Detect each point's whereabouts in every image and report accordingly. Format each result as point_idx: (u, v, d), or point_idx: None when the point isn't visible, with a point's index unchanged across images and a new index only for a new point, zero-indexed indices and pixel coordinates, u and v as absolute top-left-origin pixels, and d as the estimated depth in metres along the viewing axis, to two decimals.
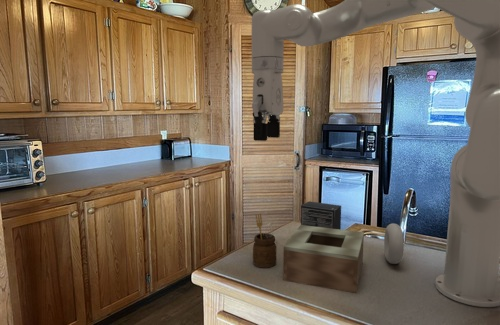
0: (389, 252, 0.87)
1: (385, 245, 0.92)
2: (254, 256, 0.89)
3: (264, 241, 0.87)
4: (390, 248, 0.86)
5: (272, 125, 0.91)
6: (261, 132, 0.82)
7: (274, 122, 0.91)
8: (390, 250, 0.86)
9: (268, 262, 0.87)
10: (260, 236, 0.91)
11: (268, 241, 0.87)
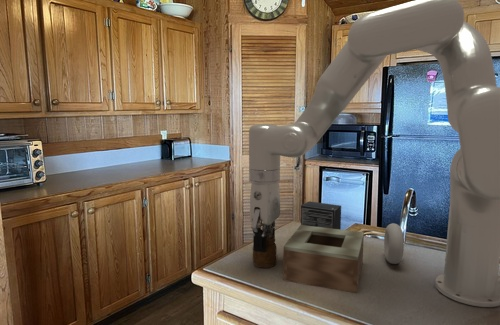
0: (389, 252, 0.87)
1: (385, 245, 0.92)
2: (254, 256, 0.89)
3: None
4: (390, 248, 0.86)
5: (267, 231, 0.92)
6: (261, 245, 0.85)
7: (269, 228, 0.92)
8: (390, 250, 0.86)
9: (268, 262, 0.87)
10: None
11: (268, 241, 0.87)
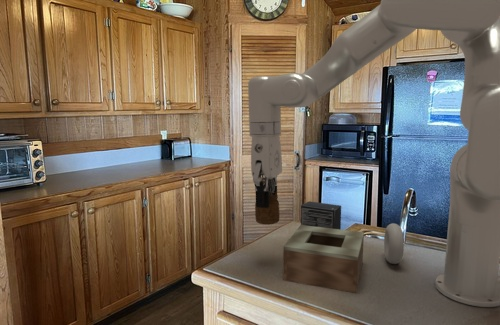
0: (389, 252, 0.87)
1: (385, 245, 0.92)
2: (256, 213, 0.87)
3: None
4: (390, 248, 0.86)
5: (269, 189, 0.90)
6: (263, 200, 0.84)
7: (271, 186, 0.90)
8: (390, 250, 0.86)
9: (271, 218, 0.85)
10: None
11: (270, 197, 0.85)
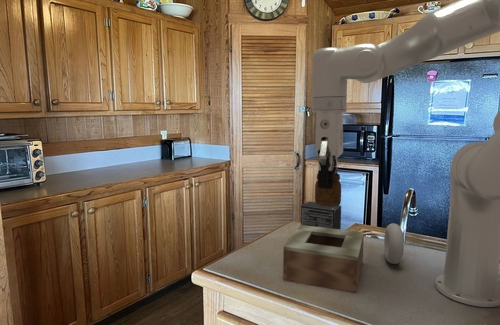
0: (389, 252, 0.87)
1: (385, 245, 0.92)
2: (317, 195, 0.81)
3: None
4: (390, 248, 0.86)
5: None
6: (327, 180, 0.78)
7: (331, 167, 0.85)
8: (390, 250, 0.86)
9: (334, 200, 0.80)
10: None
11: (334, 177, 0.80)
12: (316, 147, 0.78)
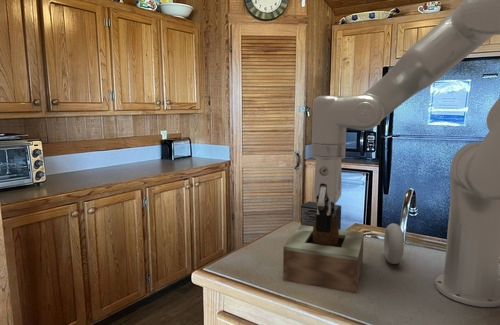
0: (389, 252, 0.87)
1: (385, 245, 0.92)
2: (315, 237, 0.83)
3: None
4: (390, 248, 0.86)
5: None
6: (325, 224, 0.80)
7: (329, 208, 0.86)
8: (390, 250, 0.86)
9: (331, 243, 0.82)
10: None
11: (332, 221, 0.81)
12: (315, 192, 0.79)
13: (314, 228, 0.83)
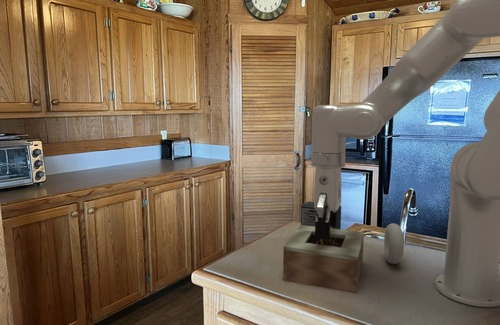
0: (389, 252, 0.87)
1: (385, 245, 0.92)
2: None
3: None
4: (390, 248, 0.86)
5: None
6: (324, 232, 0.79)
7: (331, 211, 0.88)
8: (390, 250, 0.86)
9: None
10: (321, 243, 0.86)
11: None
12: (315, 201, 0.79)
13: None
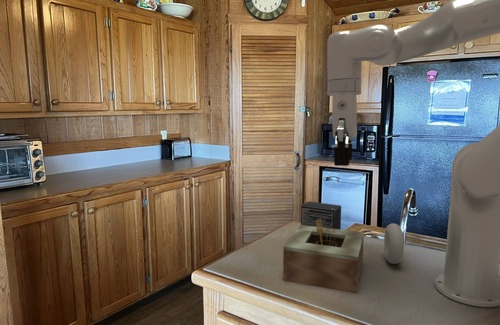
0: (389, 252, 0.87)
1: (385, 245, 0.92)
2: None
3: None
4: (390, 248, 0.86)
5: None
6: (344, 157, 0.79)
7: None
8: (390, 250, 0.86)
9: None
10: (320, 243, 0.86)
11: None
12: (333, 128, 0.80)
13: None
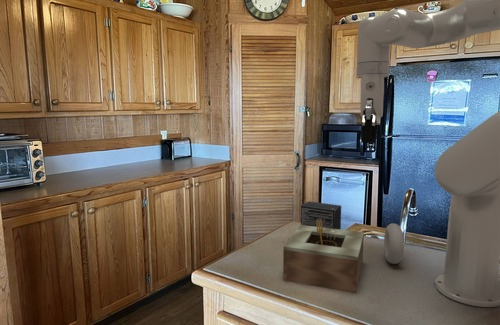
0: (389, 252, 0.87)
1: (385, 245, 0.92)
2: None
3: None
4: (390, 248, 0.86)
5: None
6: (370, 134, 0.84)
7: None
8: (390, 250, 0.86)
9: None
10: (321, 243, 0.86)
11: None
12: (361, 108, 0.85)
13: None
